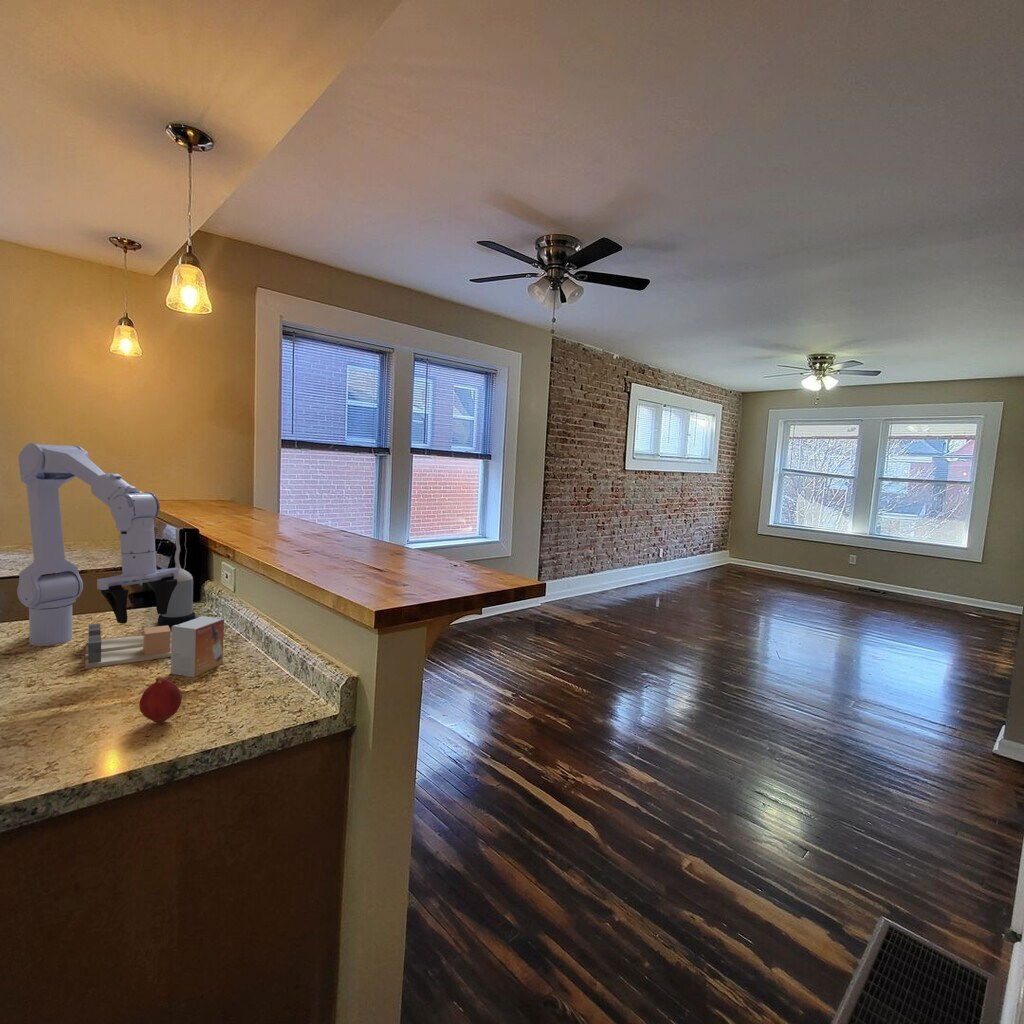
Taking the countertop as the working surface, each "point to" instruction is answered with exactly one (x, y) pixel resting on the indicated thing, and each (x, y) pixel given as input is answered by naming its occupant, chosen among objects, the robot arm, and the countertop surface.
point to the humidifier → (179, 595)
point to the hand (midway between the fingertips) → (142, 618)
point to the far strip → (115, 641)
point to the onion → (160, 700)
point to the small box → (197, 646)
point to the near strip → (115, 654)
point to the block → (156, 640)
